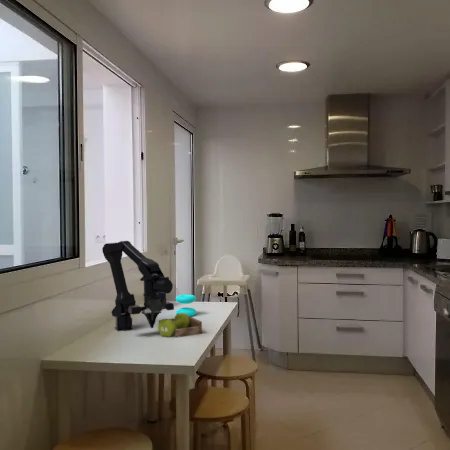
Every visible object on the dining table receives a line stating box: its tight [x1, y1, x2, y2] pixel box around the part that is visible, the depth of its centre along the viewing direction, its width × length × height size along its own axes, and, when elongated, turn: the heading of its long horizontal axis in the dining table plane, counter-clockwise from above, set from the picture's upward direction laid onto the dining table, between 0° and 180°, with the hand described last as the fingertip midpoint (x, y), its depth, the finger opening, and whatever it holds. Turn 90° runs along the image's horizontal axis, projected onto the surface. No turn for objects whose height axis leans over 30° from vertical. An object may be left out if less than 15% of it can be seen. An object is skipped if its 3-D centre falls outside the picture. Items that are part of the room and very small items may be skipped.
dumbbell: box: [157, 313, 190, 338], centre depth 214 cm, size 16×8×7 cm, turn 154°
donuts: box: [175, 293, 197, 317], centre depth 250 cm, size 10×10×10 cm
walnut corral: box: [158, 316, 203, 338], centre depth 218 cm, size 12×22×5 cm, turn 26°
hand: (151, 327), depth 213 cm, fingers closed
